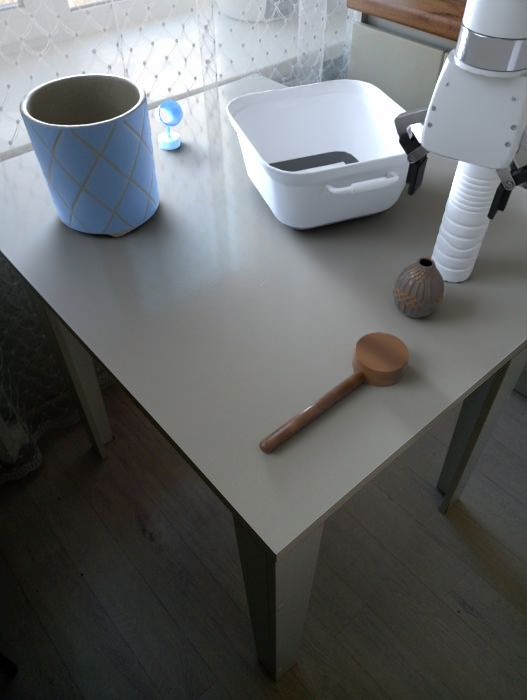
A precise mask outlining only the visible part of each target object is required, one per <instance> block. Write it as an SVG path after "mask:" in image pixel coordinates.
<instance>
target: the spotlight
mask: <svg viewBox="0 0 527 700" xmlns="http://www.w3.org/2000/svg"><path fill="white" fill-rule="evenodd" d="M161 109H163V110H165V111H166V112H167V118H166V119H165V120H163V119H162V117H161V113H160V111H161ZM183 114H184V112H183V108H182V106H181V105H180V103H179V102H177V101H176V100H174V99H170V98H169V99H165V100H163V101H162V102H161V103H160V104H159V106H158V107H157V108H156V109H155V113H154V115H155V119H156V120H157V122H158V123H159V122H160V124H163V125H165V132H162V133H160V134H159V135H158V137H157V140H158V146H159V148H160V149H161V150H165V151H171V150H176V149H178V148H180V146H181V145H182V144H181V136H180V134H179V133H178V132H174V131H171V128H174V127H177V126H178V125H179V124H180V123H181V122H182V120H183V116H184V115H183Z"/></svg>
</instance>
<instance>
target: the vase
mask: <svg viewBox="0 0 527 700" xmlns="http://www.w3.org/2000/svg"><path fill="white" fill-rule="evenodd" d="M393 286H394V287H393V300H394V303H395V306H396V307H397V310H399V311H400V312H401V314H403V315H405V316H407V317H409V318H413V319H419V318H424V317H427V316H429V315H432V313H434V312H435V311H436V310H437V308H438V307H439V306H440V305H441V302H442V301H443V297H444V294H445V293H444V292H445V281H443V278H442V275H441V274H440V272H439V270H438V269H437V268H436V265H435V262H434V260H433V259H431V257H429V256H421V257H419V258H418V259H416V261H415V262H414V263H411V264H410V265H408V266H406V267H405V268H404V269H403V270H402V271H400V273H399V275H398V276H397V278H396V280H395V283H394V285H393Z"/></svg>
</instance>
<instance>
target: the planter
mask: <svg viewBox="0 0 527 700" xmlns="http://www.w3.org/2000/svg"><path fill="white" fill-rule="evenodd" d="M19 113H20V116H21V119H22V121H23V124H24V127H25V129H26V133H27V135H28V137H29V140H30V143H31V145H32V146H31V147H32V148H33V151H34V154H35V157H36V159H37V162H38V163H39V167H40V169H41V172H42V175H43V177H44V180H45V183H46V185H47V188H48V190H49V191H48V192H49V194H50V196H51V199H52V202H53V204H54V206H55V207H54V208H55V209H56V212H57V214H58V217H59V218H60V221H62V223H63V224H64V225H66V226H67V227H69V228H70V229H72V230H75V231H78V232H81V233H86V234H92V235H93V234H94V235H96V234H97V235H109V236H112V237H114V238H119V237H123V236H124V235H126V234H128V233H130V232H131V231H133V230H135V229H137V228H138V227H141V226H142V225H144V224H145V223H146V222H147V221H149V220H150V219H151V217H153V216H154V214H155V213H156V212H157V210H158V208H159V205H160V193H159V185H158V178H157V177H158V176H157V169H156V162H155V152H154V144H153V143H154V142H153V135H152V128H151V122H150V113H149V107H148V98H147V93H146V91H145V88H144V87H143V86H142V85H141V84H140V83H139V82H137V81H136V80H133V79H130V78H128V77H124V76H121V75H117V74H116V75H115V74H109V73H108V74H107V73H87V74H86V73H84V74H76V75H69V76H64V77H60V78H56V79H52V80H50V81H46V82H45V83H42V84H40V85H38V86H36V87H35V88H33V89H32V90H30V91H29V92H27V93H26V94H25V95H24V96H23V97H22V99H21V100H20V103H19Z"/></svg>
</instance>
